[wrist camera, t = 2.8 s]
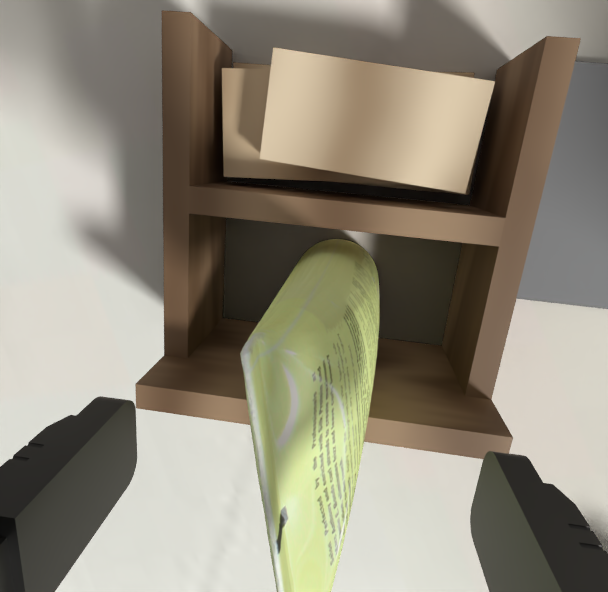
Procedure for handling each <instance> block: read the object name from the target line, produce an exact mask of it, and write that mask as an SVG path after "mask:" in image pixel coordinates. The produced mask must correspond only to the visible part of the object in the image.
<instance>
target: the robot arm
mask: <svg viewBox="0 0 608 592" xmlns="http://www.w3.org/2000/svg"><path fill="white" fill-rule="evenodd" d="M136 462H137V440H136V411H135V405H134V403H133V402H132V401H130V400H123V399H115V398H108V397H101V396H100V397H97V398H95V399H94V400H93V401H92V402H91V403H90V404H89V405H88V406H86V407H85V408H84V409H83V410H82V411H81V412H80V413H79V414H78V415H77V416H74V415H70V416H68V417H66V418H64V419H62V420H60V421H58V422H56V423H54V424H52V425H50V426H48V427H46V428H45V429H44V430H43V431H41V432H40V433H39V434H38V435H37V436H36V437H34V438H33V439H32V440H31V441H30V442H29V444H28V446H24V447H23V448H22V449H21V450H19V451H18V452H17V453H16V454H15V455H14V456H13V459H9V460H8V461H7V462H5V463H4V464H3V465H2V466H1V467H0V592H55V590H56V589H57V588H58V586H59V585H60V583H61V582H62V580H63V579H64V578H65V576H66V575H67V573H68V572H69V570H70V569H71V567H72V566H73V565H74V563H75V562H76V560H77V559H78V557H79V556H80V555H81V553H82V552H83V550H84V549H85V547H86V546H87V544H88V543H89V542H90V540H91V539H92V537H93V536H94V534H95V533H96V531H97V530H98V529H99V527H100V526H101V524H102V523H103V521H104V520H105V519H106V517H107V516H108V514H109V513H110V511H111V510H112V508H113V507H114V506H115V504H116V503H117V501H118V500H119V498H120V497H121V496H122V494H123V493H124V491H125V490H126V488H127V487H128V485H129V484H130V482H131V480H132V477H133V475H134V471H135V468H136ZM470 523H471V533H472V538H473V542H474V545H475V548H476V551H477V554H478V557H479V560H480V563H481V567H482V570H483V573H484V576H485V579H486V582H487V585H488V588H489V592H608V554H607V552H606V551H603V549H602V544H601V543H600V541H599V540H598V538H597V537H596V535H595V534H594V532H593V531H590V526H589V525H588V523H587V522H586V520H585V519H584V517H583V515H582V514H581V512H580V511H579V509H578V508H577V506H576V505H575V504H574V503H573V502H572V501H571V500H570V499H569V498H567V497H566V496H565V495H564V494H563V493H562V492H561V491H560V490H559V489H557V488H556V487H555V486H554V485H553V484H546V483H543V482H542V480H541V478H540V477H539V475H538V473H537V472H536V470H535V468H534V467H533V465H532V463H531V462H530V460H529V459H528V458H527V457H526V456H522V455H515V454H508V453H500V452H493V451H488V452H487V453H486V455H485V457H484V460H483V463H482V467H481V471H480V475H479V479H478V483H477V487H476V491H475V495H474V499H473V503H472V508H471V517H470Z"/></svg>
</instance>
